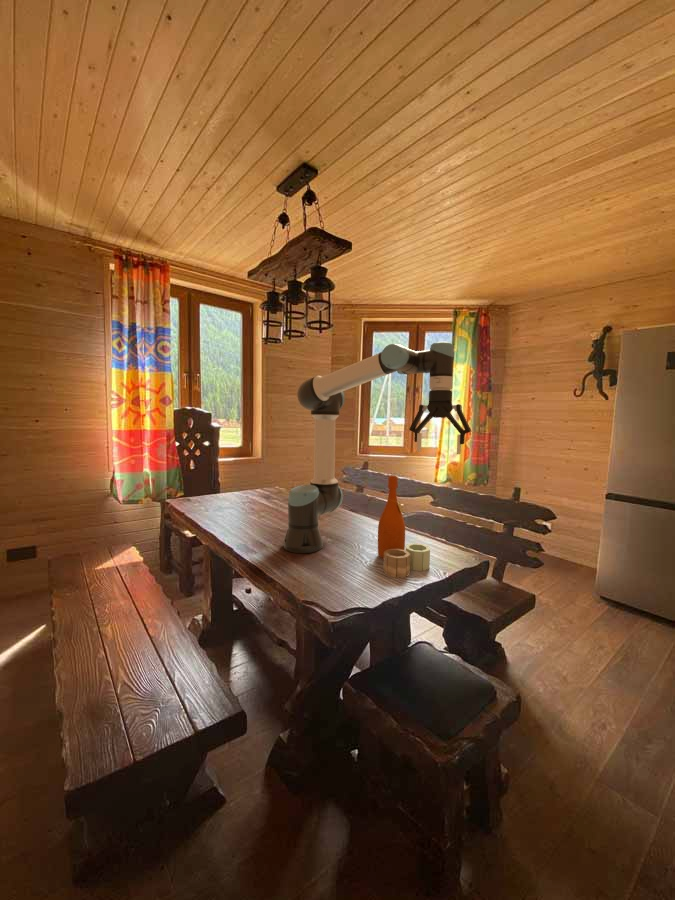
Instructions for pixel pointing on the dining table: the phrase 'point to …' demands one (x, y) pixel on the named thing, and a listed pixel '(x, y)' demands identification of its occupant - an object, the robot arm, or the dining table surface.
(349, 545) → the dining table surface
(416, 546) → the sage ring
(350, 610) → the dining table surface
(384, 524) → the wine bottle
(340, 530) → the dining table surface
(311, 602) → the dining table surface
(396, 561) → the birch ring
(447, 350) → the robot arm
